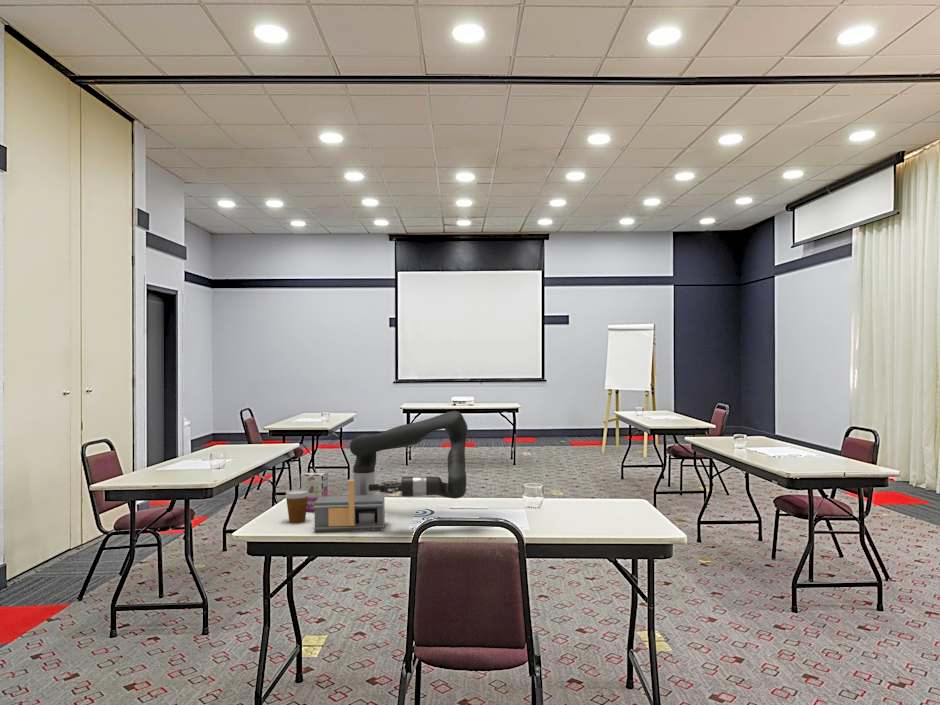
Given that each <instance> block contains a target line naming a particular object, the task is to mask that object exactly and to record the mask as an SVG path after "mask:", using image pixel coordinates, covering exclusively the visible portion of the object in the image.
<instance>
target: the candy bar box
mask: <svg viewBox="0 0 940 705" xmlns="http://www.w3.org/2000/svg"><path fill="white" fill-rule="evenodd" d="M328 474H329V473H324V472H304V473H301V474H300V490H307V491H308V494H309V495H308V500H307V509H306V513H314V503H315V502H316V500H317V499H318V498H319V497H323V496H329V481H328V480H329V475H328Z"/></svg>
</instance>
